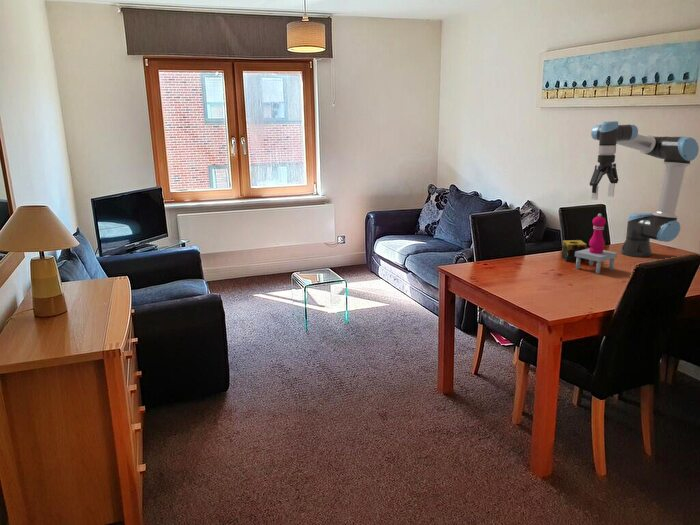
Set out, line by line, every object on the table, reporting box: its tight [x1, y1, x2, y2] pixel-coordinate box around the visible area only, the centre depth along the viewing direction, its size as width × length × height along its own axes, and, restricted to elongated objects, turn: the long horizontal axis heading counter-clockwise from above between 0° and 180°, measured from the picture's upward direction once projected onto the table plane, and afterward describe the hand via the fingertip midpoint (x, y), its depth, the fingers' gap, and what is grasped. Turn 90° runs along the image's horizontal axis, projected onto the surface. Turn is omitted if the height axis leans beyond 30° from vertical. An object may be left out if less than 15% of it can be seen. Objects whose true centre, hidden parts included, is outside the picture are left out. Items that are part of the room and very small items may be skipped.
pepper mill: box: [588, 213, 607, 254], centre depth 259 cm, size 7×7×20 cm
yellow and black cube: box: [561, 239, 587, 263], centre depth 282 cm, size 10×10×10 cm
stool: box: [575, 247, 618, 275], centre depth 263 cm, size 14×14×9 cm
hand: (602, 197), depth 256 cm, fingers open, 13 cm apart
